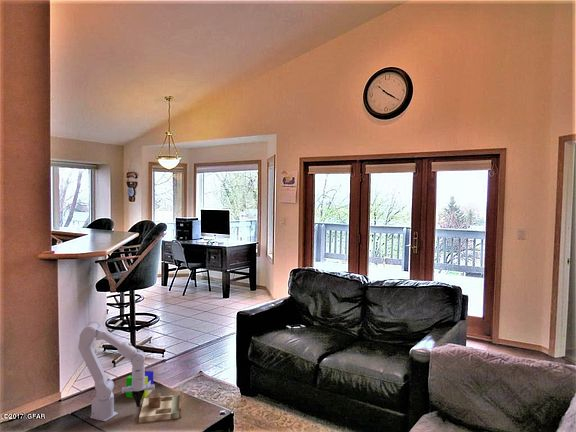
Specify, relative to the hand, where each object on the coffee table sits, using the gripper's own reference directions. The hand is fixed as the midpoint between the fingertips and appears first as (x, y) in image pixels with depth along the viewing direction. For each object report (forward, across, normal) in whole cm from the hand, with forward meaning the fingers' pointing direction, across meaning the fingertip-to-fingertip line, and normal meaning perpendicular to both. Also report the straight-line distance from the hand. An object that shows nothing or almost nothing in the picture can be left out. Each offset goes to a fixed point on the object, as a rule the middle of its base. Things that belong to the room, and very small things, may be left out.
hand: (138, 406), depth 192 cm
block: (+1, -8, 0) cm, 8 cm away
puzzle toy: (+3, +2, -22) cm, 22 cm away
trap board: (+3, -11, 0) cm, 11 cm away
